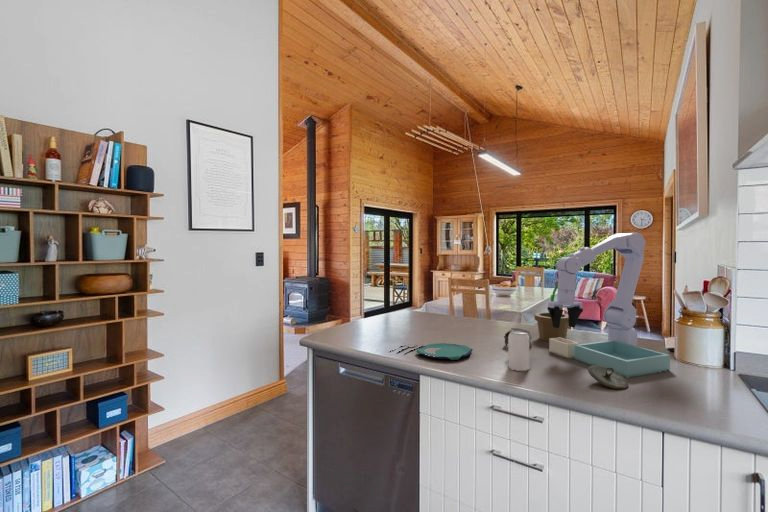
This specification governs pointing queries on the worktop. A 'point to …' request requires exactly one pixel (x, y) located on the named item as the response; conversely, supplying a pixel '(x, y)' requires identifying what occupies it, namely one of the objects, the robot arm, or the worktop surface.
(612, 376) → the lid
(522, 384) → the worktop surface
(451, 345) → the teal platter
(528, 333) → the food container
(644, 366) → the big tray
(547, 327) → the flowerpot
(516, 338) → the can
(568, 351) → the small crate
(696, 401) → the worktop surface
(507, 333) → the pottery mug
